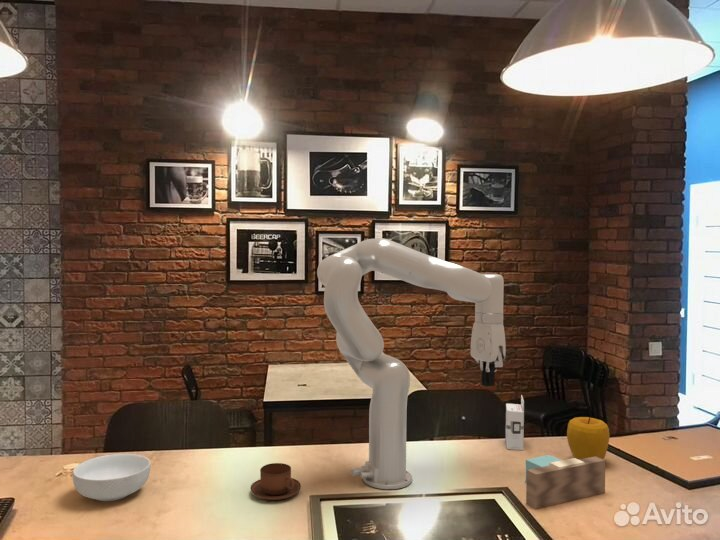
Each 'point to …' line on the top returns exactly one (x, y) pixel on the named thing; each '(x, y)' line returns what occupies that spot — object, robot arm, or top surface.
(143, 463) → the cereal bowl
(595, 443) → the apple
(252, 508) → the top surface
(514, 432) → the ink box
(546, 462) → the teal block
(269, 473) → the cup and saucer
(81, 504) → the top surface
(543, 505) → the walnut box
